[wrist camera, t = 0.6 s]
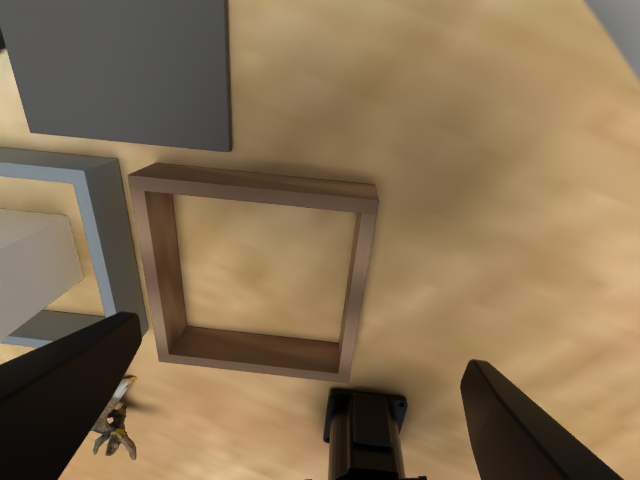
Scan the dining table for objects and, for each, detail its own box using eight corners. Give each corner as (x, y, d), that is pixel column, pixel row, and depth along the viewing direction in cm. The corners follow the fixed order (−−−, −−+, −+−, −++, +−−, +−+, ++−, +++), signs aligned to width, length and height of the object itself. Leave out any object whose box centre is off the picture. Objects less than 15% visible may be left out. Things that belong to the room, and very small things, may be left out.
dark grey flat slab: (231, 150, 20) (228, 152, 20) (37, 131, 20) (30, 132, 20) (225, -38, 16) (222, -41, 16) (-15, -58, 17) (-25, -62, 16)
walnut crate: (348, 352, 26) (348, 383, 24) (177, 333, 27) (159, 361, 24) (374, 184, 20) (379, 200, 18) (155, 162, 21) (127, 175, 18)
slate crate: (148, 329, 27) (126, 357, 24) (-17, 311, 27) (-57, 336, 24) (117, 158, 21) (84, 170, 18) (-93, 138, 21) (-157, 146, 18)
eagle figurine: (176, 415, 29) (119, 354, 24) (99, 500, 25) (11, 447, 20) (134, 378, 34) (78, 320, 29) (62, 445, 30) (-19, 390, 24)
